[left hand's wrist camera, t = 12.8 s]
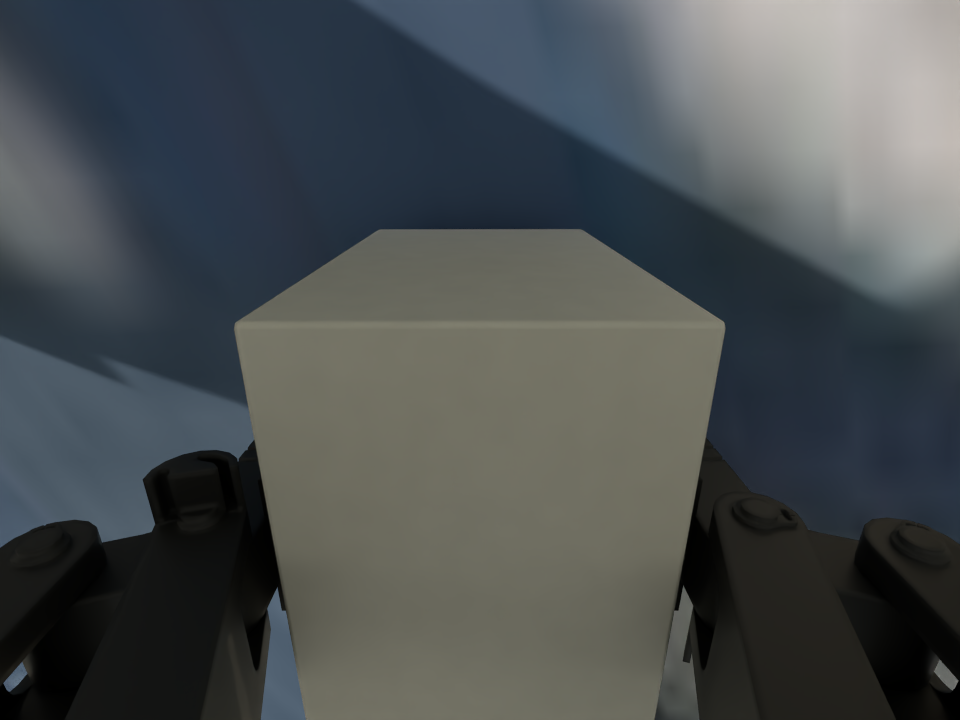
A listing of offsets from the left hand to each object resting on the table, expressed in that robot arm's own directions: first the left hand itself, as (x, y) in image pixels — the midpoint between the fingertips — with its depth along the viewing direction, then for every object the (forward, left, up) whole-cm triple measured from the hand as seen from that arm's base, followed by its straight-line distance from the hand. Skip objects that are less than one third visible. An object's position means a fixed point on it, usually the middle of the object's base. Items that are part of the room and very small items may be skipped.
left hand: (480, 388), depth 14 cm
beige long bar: (+20, -9, -1) cm, 22 cm away
